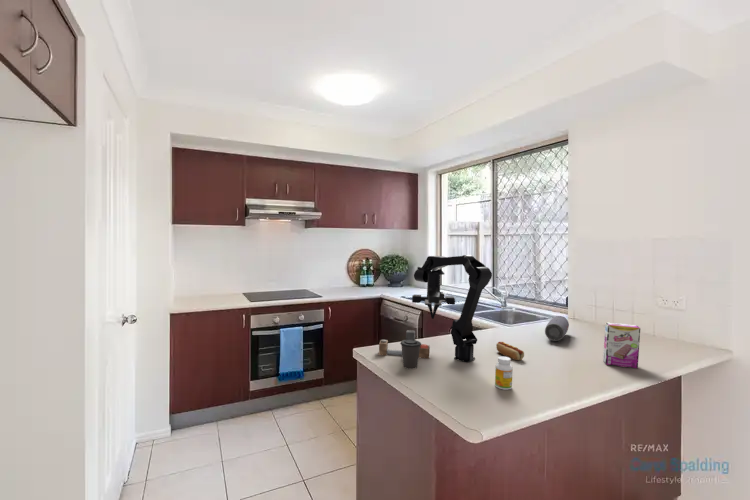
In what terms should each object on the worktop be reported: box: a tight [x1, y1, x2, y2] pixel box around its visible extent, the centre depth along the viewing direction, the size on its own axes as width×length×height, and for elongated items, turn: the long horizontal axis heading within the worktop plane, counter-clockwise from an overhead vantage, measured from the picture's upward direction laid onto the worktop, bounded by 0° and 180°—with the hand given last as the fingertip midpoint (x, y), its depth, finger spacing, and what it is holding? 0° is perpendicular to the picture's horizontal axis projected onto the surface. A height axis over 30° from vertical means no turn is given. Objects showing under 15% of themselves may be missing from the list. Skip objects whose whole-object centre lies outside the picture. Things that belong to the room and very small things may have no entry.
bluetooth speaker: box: [544, 315, 570, 342], centre depth 185 cm, size 23×9×10 cm, turn 147°
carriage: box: [405, 329, 416, 340], centre depth 153 cm, size 5×6×10 cm
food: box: [495, 341, 525, 361], centre depth 155 cm, size 14×6×5 cm, turn 21°
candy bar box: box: [602, 321, 641, 369], centre depth 146 cm, size 11×5×16 cm, turn 71°
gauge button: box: [420, 343, 428, 349], centre depth 153 cm, size 3×3×4 cm
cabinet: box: [418, 344, 431, 359], centre depth 153 cm, size 5×5×4 cm
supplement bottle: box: [494, 355, 513, 391], centre depth 123 cm, size 5×5×10 cm
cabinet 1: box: [378, 339, 389, 357], centre depth 155 cm, size 3×5×6 cm, turn 171°
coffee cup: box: [399, 339, 422, 370], centre depth 140 cm, size 8×8×10 cm
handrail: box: [387, 349, 402, 356], centre depth 154 cm, size 13×2×2 cm, turn 81°
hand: (432, 318), depth 165 cm, fingers closed
